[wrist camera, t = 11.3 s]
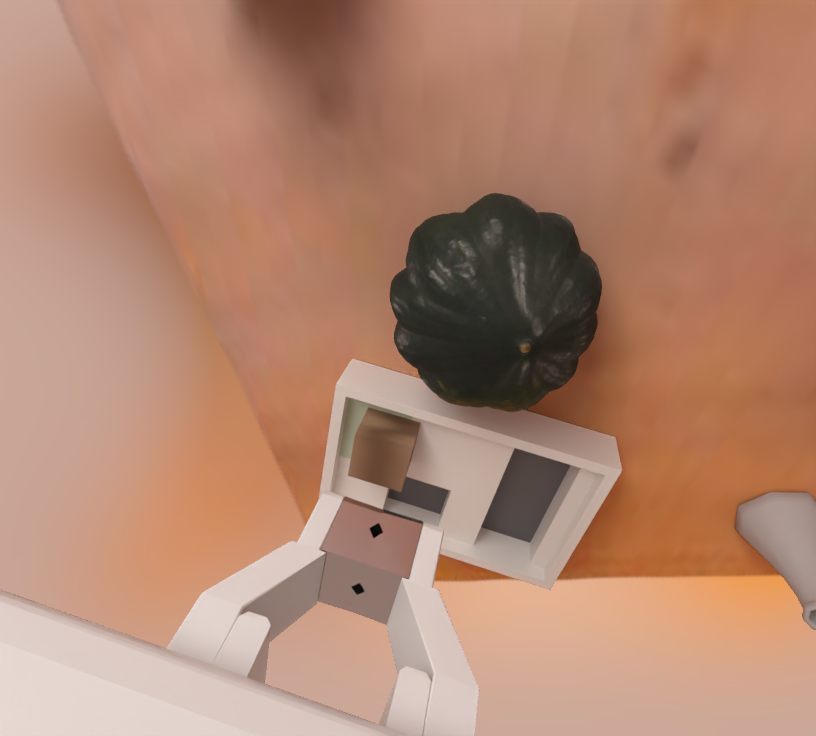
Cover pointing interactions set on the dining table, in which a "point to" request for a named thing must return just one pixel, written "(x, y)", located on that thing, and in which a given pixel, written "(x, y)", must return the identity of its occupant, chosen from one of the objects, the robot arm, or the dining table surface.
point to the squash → (495, 304)
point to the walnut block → (383, 449)
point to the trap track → (479, 474)
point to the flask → (785, 540)
